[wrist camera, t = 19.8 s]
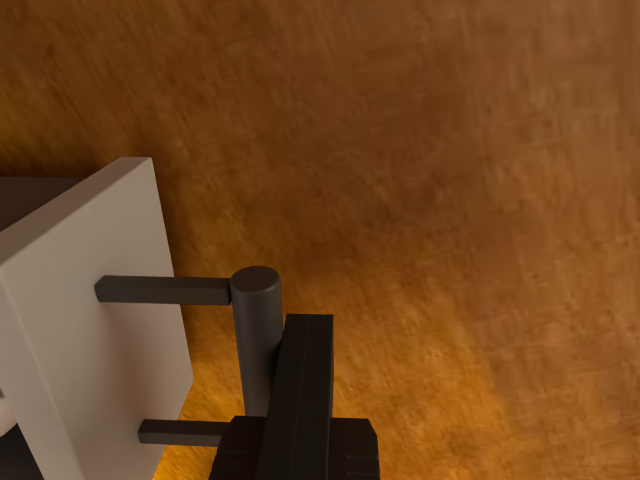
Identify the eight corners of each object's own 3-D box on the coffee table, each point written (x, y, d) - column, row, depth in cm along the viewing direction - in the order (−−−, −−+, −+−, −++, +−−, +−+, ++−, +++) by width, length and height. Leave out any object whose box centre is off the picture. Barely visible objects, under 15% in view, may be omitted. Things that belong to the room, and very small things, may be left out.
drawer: (295, 157, 15) (254, 274, 8) (303, 383, 20) (281, 572, 13) (-149, 153, 16) (-520, 255, 9) (-36, 370, 21) (-221, 542, 14)
